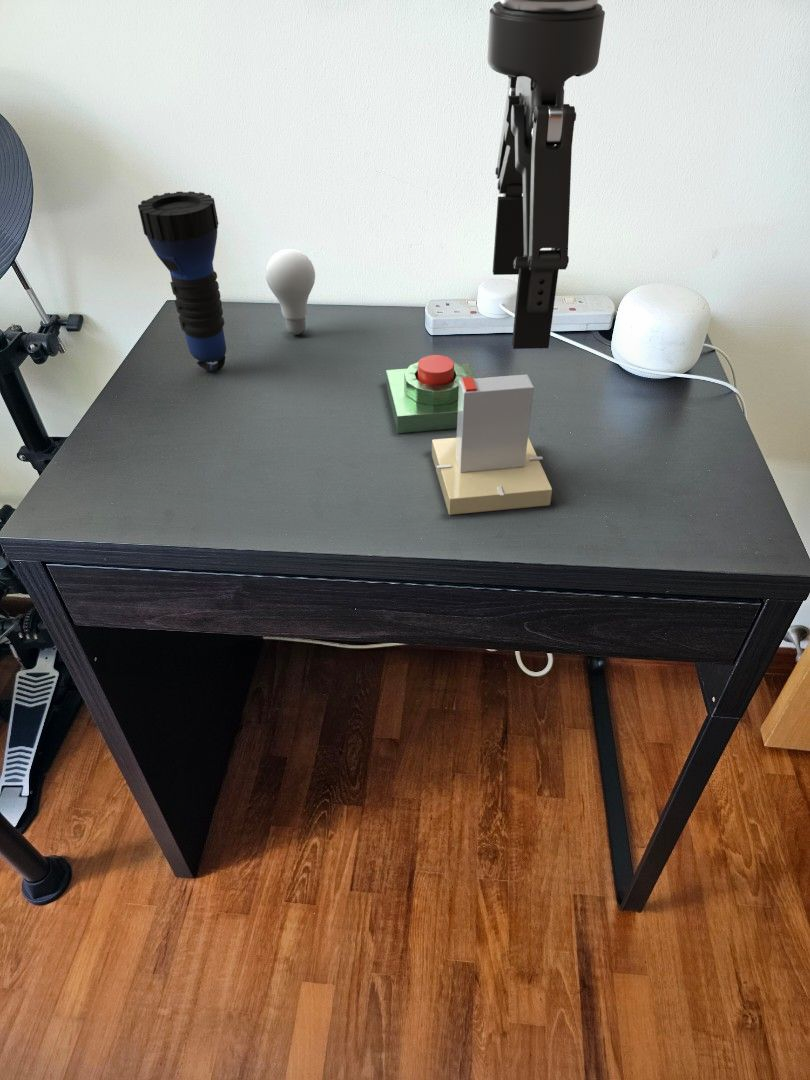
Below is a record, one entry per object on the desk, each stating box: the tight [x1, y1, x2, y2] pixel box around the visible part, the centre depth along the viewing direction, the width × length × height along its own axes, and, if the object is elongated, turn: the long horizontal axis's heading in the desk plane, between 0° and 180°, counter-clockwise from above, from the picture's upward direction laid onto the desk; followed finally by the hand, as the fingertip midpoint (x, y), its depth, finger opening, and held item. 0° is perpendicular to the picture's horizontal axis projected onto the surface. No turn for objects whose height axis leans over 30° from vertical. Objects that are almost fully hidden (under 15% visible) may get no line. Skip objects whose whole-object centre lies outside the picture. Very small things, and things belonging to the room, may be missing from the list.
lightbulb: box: [265, 248, 316, 336], centre depth 100 cm, size 6×6×11 cm
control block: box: [385, 361, 477, 434], centre depth 89 cm, size 10×10×4 cm
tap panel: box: [431, 436, 553, 516], centre depth 79 cm, size 11×11×2 cm
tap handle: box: [456, 374, 535, 472], centre depth 75 cm, size 6×2×9 cm, turn 98°
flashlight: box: [137, 190, 227, 372], centre depth 90 cm, size 8×8×20 cm
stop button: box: [417, 354, 454, 386], centre depth 87 cm, size 4×4×2 cm
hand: (518, 307), depth 66 cm, fingers open, 13 cm apart
